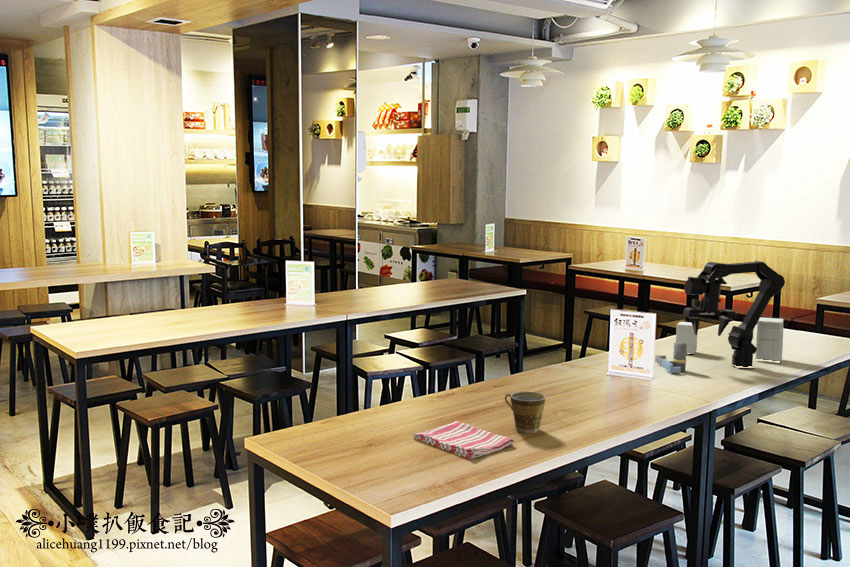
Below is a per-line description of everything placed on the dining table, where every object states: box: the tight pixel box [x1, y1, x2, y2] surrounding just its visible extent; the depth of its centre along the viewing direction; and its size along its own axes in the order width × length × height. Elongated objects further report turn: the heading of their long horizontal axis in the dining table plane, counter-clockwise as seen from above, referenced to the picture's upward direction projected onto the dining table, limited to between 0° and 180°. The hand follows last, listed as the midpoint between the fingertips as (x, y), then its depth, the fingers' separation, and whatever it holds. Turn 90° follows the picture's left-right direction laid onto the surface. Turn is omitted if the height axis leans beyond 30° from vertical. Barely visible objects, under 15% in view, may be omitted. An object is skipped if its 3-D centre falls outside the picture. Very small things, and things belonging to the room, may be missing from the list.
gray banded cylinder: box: [672, 342, 687, 372], centre depth 289 cm, size 5×5×10 cm
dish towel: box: [413, 420, 515, 460], centre depth 209 cm, size 17×23×4 cm
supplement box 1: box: [675, 321, 698, 354], centre depth 319 cm, size 7×7×13 cm
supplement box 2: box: [755, 316, 784, 362], centre depth 305 cm, size 10×9×17 cm
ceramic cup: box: [504, 391, 546, 434], centre depth 220 cm, size 13×10×10 cm
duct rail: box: [654, 354, 682, 374], centre depth 294 cm, size 4×20×4 cm, turn 178°
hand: (707, 335), depth 291 cm, fingers open, 9 cm apart
